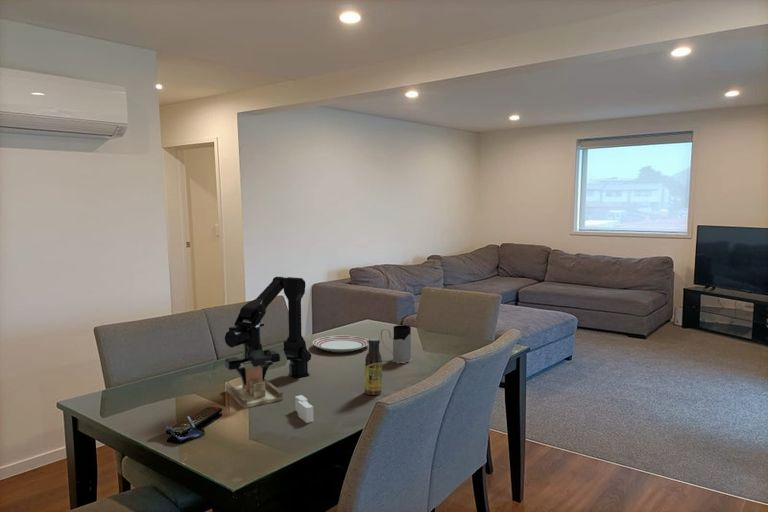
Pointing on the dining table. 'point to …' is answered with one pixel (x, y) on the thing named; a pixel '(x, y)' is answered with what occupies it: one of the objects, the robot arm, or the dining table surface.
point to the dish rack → (255, 393)
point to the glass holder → (401, 343)
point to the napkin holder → (304, 409)
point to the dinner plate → (340, 343)
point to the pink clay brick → (253, 375)
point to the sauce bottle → (373, 368)
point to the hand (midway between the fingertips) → (253, 383)
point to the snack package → (191, 434)
